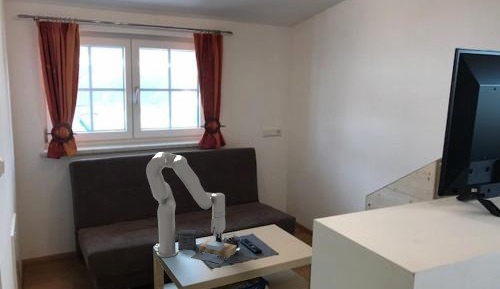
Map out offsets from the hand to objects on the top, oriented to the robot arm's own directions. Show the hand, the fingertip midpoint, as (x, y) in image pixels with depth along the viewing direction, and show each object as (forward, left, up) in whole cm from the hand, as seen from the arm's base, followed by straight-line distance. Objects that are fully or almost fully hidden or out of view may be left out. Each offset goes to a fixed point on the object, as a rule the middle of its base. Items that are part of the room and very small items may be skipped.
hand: (218, 243), depth 236 cm
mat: (0, -11, -5) cm, 12 cm away
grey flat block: (0, -5, -1) cm, 5 cm away
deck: (0, -1, -5) cm, 5 cm away
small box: (-20, -4, -5) cm, 21 cm away
